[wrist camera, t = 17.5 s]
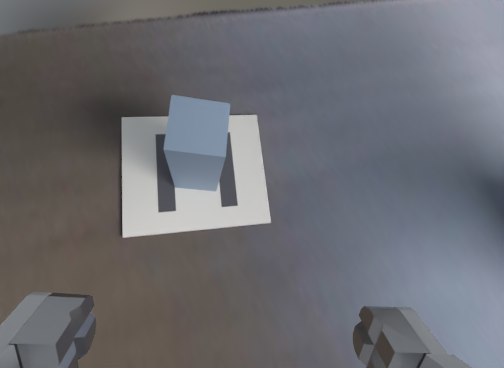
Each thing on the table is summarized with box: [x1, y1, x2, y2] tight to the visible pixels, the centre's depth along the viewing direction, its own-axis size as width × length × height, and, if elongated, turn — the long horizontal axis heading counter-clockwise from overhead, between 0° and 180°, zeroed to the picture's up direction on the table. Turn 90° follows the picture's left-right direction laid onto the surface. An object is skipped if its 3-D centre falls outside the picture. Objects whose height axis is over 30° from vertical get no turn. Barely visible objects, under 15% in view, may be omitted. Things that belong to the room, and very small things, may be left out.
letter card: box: [122, 115, 271, 238], centre depth 28 cm, size 14×12×1 cm
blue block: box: [163, 95, 230, 191], centre depth 24 cm, size 4×4×10 cm
